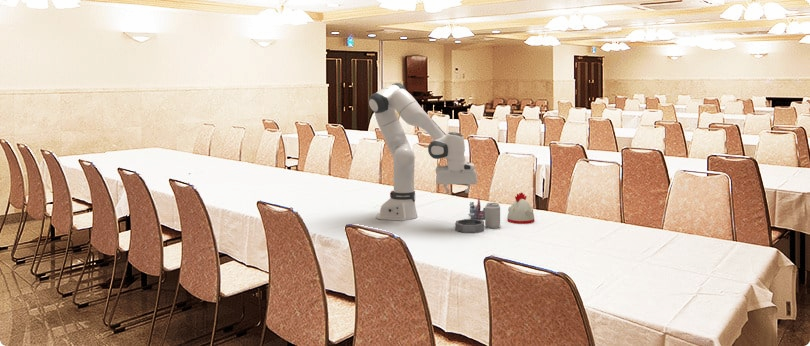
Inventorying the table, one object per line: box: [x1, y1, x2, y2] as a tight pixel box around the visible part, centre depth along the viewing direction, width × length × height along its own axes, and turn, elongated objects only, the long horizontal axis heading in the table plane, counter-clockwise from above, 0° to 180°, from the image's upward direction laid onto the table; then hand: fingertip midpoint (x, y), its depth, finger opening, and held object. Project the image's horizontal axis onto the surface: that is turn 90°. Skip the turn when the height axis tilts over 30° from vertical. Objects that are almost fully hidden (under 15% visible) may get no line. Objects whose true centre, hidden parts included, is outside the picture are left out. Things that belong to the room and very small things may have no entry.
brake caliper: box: [467, 197, 485, 221], centre depth 347 cm, size 11×11×12 cm
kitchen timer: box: [506, 192, 535, 225], centre depth 338 cm, size 14×14×15 cm
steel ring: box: [454, 218, 485, 234], centre depth 323 cm, size 14×14×4 cm
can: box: [484, 202, 501, 229], centre depth 327 cm, size 8×8×12 cm
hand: (457, 193), depth 323 cm, fingers open, 8 cm apart
